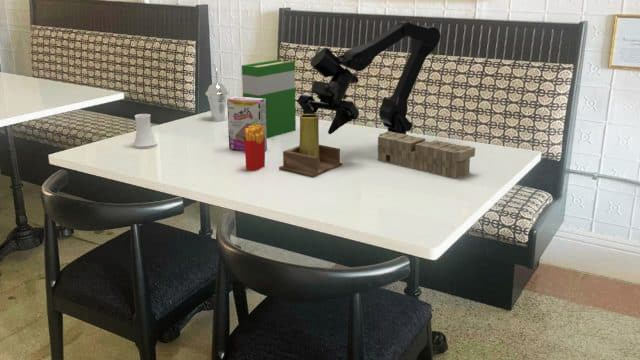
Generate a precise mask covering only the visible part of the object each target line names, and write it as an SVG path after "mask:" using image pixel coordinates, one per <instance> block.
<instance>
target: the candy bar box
mask: <svg viewBox="0 0 640 360" xmlns="http://www.w3.org/2000/svg"><path fill="white" fill-rule="evenodd" d="M226 105H227V106H226V107H227V126H228V148H229V150H230V151H238V152H245V147H244V139H245V138H246V136H245V129H246V128H249V127H248V126H251V125H252V126H255V125H260V126H264V127H265V129H264V135H265V151H266V150H267V149H268V141H267V140H268V138H267V132H266V99H262V98H249V97H243V96H238V95H237V96H236V95H234V96H231V97H228V98H226Z"/></svg>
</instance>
